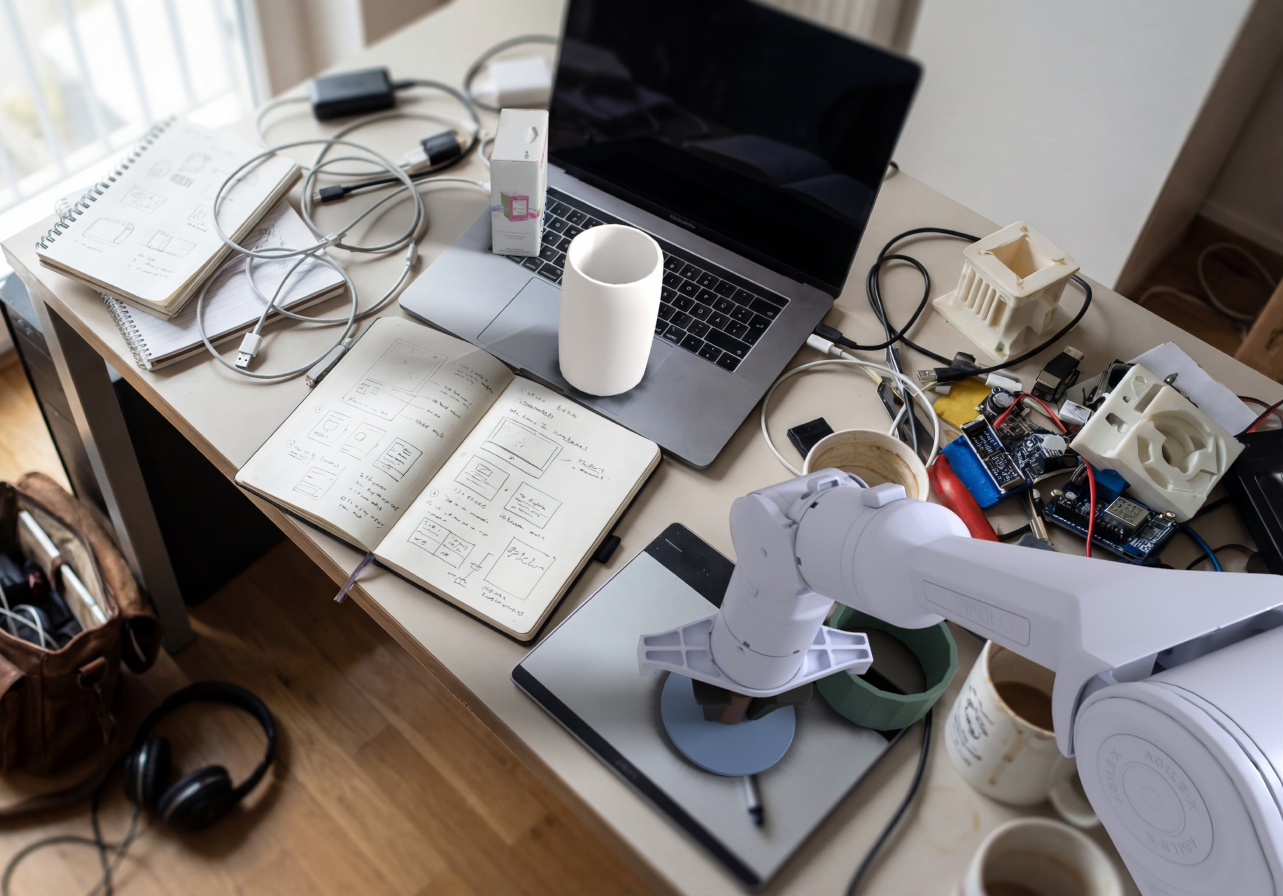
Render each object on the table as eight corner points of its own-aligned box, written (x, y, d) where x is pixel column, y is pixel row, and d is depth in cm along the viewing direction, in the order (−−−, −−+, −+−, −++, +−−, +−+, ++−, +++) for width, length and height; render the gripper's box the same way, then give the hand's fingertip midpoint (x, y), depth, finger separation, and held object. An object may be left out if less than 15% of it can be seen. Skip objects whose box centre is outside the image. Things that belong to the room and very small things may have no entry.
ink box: (500, 201, 109) (500, 104, 99) (547, 205, 108) (551, 107, 99) (489, 254, 103) (489, 157, 94) (538, 258, 103) (542, 161, 93)
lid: (819, 737, 72) (841, 705, 67) (714, 805, 69) (729, 775, 64) (735, 634, 77) (749, 597, 72) (633, 693, 74) (642, 658, 69)
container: (956, 696, 73) (984, 663, 69) (867, 754, 71) (891, 724, 67) (872, 605, 78) (894, 569, 74) (785, 657, 75) (803, 623, 71)
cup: (581, 419, 90) (593, 303, 79) (539, 356, 95) (544, 238, 83) (664, 389, 92) (687, 271, 81) (619, 328, 97) (635, 209, 85)
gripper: (875, 556, 63) (820, 654, 74) (643, 558, 63) (621, 656, 74) (904, 659, 59) (841, 748, 70) (655, 661, 59) (630, 749, 70)
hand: (729, 707), depth 72 cm, fingers closed on lid, 2 cm apart
